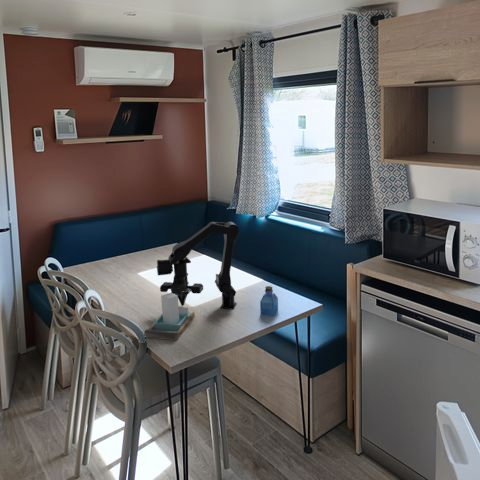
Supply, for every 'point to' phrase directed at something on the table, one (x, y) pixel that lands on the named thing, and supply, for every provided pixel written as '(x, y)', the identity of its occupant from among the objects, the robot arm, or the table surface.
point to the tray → (173, 327)
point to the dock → (168, 334)
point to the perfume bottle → (269, 302)
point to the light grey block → (170, 308)
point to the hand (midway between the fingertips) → (182, 305)
